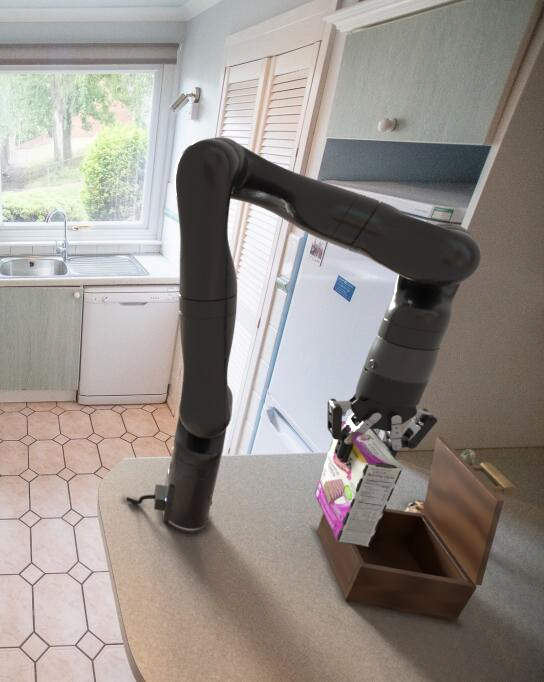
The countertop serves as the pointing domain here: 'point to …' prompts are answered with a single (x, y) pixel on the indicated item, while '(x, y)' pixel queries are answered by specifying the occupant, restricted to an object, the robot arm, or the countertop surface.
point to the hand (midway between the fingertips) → (360, 461)
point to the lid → (465, 507)
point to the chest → (400, 568)
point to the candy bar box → (357, 488)
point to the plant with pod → (419, 506)
